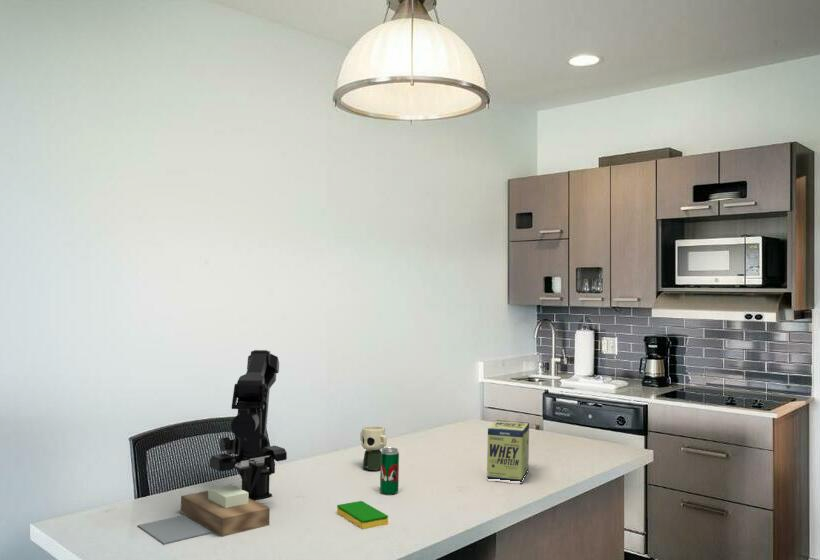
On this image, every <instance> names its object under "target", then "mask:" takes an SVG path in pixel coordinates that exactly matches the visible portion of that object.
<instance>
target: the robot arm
mask: <svg viewBox="0 0 820 560" xmlns="http://www.w3.org/2000/svg"><path fill="white" fill-rule="evenodd" d="M246 370H247V371H246V373H245V374H242V375H240V376H239V377H238V379H237V382H236V383H235V384H234V385H233V386H234V388H233V394H232V401H231V410H237V415H236V416H235V417H234V418H233V419H232V420H231V421H232V422H231V423H230V428H231V429H230V430H231V432H232V433H233V435H234V439H230V437H229V436H227V437H222V438H220V439H219V449H220V452H226V453H221V454H213V455H212V456H211V458H210V459H209V468H211V469H213V470H216V471H218V472H226V471H232V470H233V469H235V470H237V472H238V474H239V477H240V478H241V489H242V490H244V491H246V492H248V493H249V497H248V498H250V499H252V500H254V501H256V500H261V499H265V498H269V497H273V494H272V493H271V492H270V475H273V474H275V472H276V462H282V461H287V459H288V454H287V453H288V452H287V450H286V448H284V447H281V446H278V445H271V446H270V443H269V441H268V439H267V437H266V435H267V428H268V427H267V426H268V413H269V401H270V389H271V388H272V386H273V385H274V384H275V382H276V381H277V374H279V372H280V361H279V357H278V356H276V355H275V354H272V353H271V351H270V350H266V349H254V350H251V351H250V355H248V357H247V365H246ZM232 454H233V455H234V456H233V455H232Z"/></svg>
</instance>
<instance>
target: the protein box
mask: <svg viewBox="0 0 820 560" xmlns="http://www.w3.org/2000/svg"><path fill="white" fill-rule="evenodd" d="M529 441H530V422H524V421H511V420H503V419H502V420H500V419H497V420H496V421H495V422H494V423H492V424H491V425H490V427H489V428H487V452H486V453H487V455H486V456H487V457H486V459H487V460H486V462H487V463H486V465H487V466H486V479H487V478H488V479H500V480H510V481H520V482H522V480H523V478H524V476H525V475H526V473H527V471H528V472H529V462H530V461H529V459H530V458H529V455H530V452H529V451H530V449H529V448H530V446H529V445H530V443H529ZM527 474H528V473H527ZM526 476H527V475H526ZM523 481H524V480H523ZM522 483H523V482H522Z"/></svg>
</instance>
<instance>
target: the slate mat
mask: <svg viewBox="0 0 820 560" xmlns="http://www.w3.org/2000/svg"><path fill="white" fill-rule="evenodd" d="M137 528H140V529H141V530H143V531H144V532H145V533H147V534H148V535H149V536H151V537H152V538H154V539H155V540H156V541H158V542H160V543H161V544H163V545H167V544H168V545H169V544H173V543H176V542H180V541H185V540H188V539H193V538H197V537H201V536H205V535H209V534H212V530H211V531H210V529H208V528H207V527H206V528H205V526H203V525H202V524H201V525H200V523H198V522H196V521H195V520H193V519H191V518H190V517H188V516H186V515H185V514H182V515H179V516H174V517H173V516H172V517H169V518H163V519H159V520H155V521H151V522H146V523H141V524H137Z"/></svg>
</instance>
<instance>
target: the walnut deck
mask: <svg viewBox="0 0 820 560" xmlns="http://www.w3.org/2000/svg"><path fill="white" fill-rule="evenodd" d="M270 509H271V508H270V506H266V505H264V504H262V503H260V502H258V501H256V500H252V499H250V498H248V503H246V504H242V505H237V506H232V507H228V508H225V507H223V506H221V505H219V504H217V503H215V502H213V501H211V500H209V499H208V490H205V491H200V492H195V493H194V492H193V493H189V494H185V495H181V496H180V513H182V515H184V516H186V517H188V518H189V519H191V520H193V521H194V522H196V523H198V524H199V525H200V524H201V526H203V527H206V529H208V530H211V532H214V533H216V534H217V535H219V536H222V537H225V536H230V535H234V534H238V533H242V532H243V533H244V532H246V531H250V530H255V529H258V528H259V529H260V528H262V527H267V526H270V514H271V513H270V512H271V511H270Z"/></svg>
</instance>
